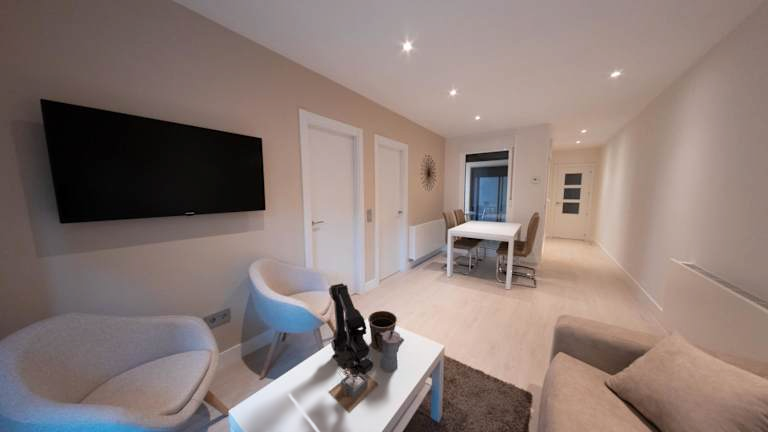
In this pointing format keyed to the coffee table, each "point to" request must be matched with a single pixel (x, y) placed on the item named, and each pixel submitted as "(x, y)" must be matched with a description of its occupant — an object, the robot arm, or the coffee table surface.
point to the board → (346, 400)
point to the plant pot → (381, 326)
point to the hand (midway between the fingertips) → (354, 373)
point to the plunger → (353, 379)
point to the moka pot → (389, 349)
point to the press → (356, 392)
